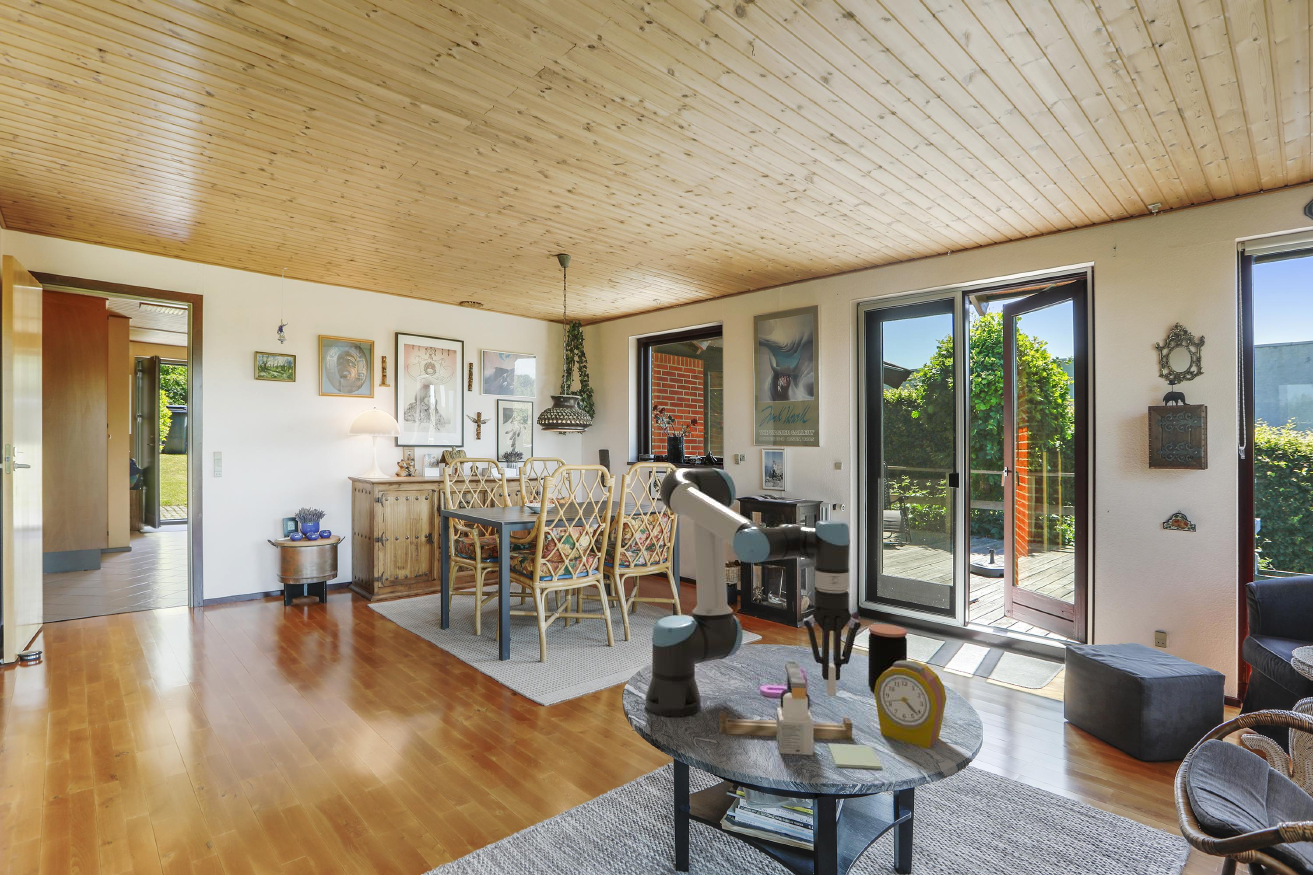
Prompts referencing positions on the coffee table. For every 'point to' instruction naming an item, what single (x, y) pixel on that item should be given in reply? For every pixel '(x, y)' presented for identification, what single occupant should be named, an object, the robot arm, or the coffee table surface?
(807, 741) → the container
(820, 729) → the rail
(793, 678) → the grey l-shaped beam
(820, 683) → the coffee table surface
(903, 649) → the coffee jar
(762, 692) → the bracket
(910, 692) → the alarm clock
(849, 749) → the pad
